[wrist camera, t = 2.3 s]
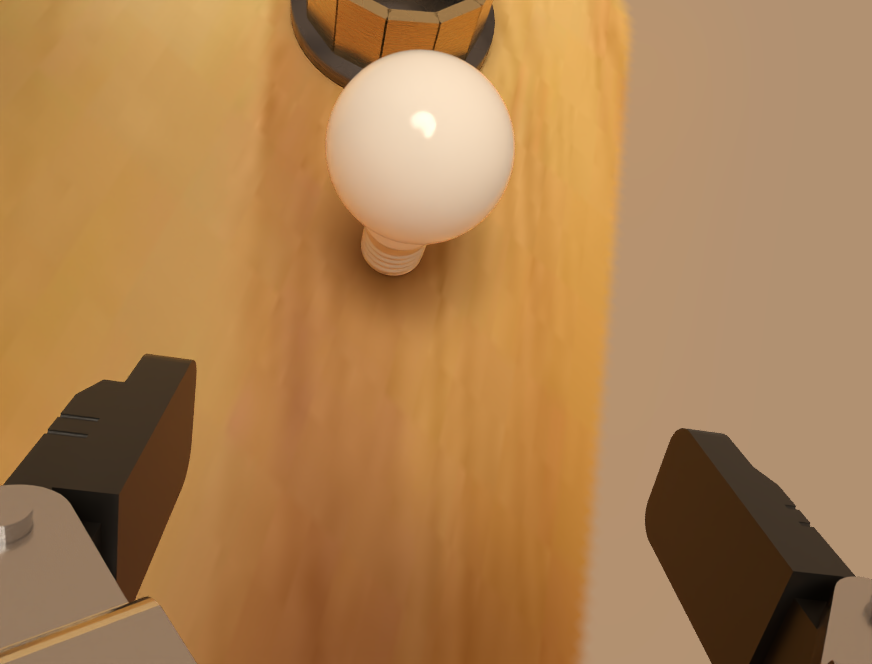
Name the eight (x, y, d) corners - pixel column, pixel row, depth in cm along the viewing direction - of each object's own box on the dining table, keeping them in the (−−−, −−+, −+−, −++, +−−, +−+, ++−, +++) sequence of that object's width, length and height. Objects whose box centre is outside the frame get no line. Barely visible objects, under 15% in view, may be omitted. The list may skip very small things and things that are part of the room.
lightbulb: (403, 168, 34) (454, -23, 23) (489, 273, 32) (581, 120, 22) (286, 234, 31) (287, 54, 21) (374, 349, 30) (420, 217, 20)
